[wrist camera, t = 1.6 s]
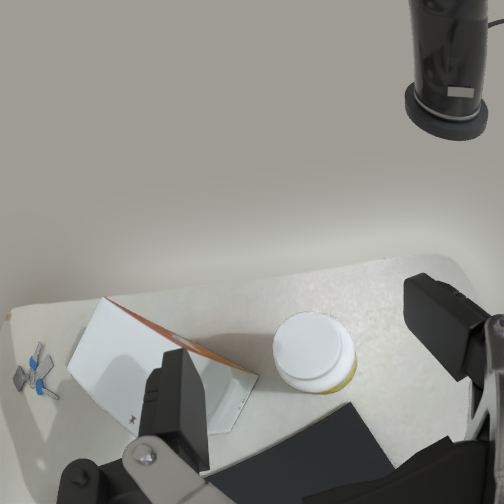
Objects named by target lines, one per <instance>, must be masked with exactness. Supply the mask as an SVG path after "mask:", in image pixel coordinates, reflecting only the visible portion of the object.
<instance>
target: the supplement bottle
mask: <svg viewBox="0 0 504 504" xmlns="http://www.w3.org/2000/svg"><path fill="white" fill-rule="evenodd" d="M272 349H273V356H274V360H275V365H276V368H277V370H278V372H279V374H280V376H281V377H282V378H283V380H284V381H285V382H286V383H288V384H289V385H290V386H292V387H293V388H295V389H297V390H300V391H303V392H308V393H315V394H331V393H334V392H337V391H339V390H341V389H342V388H344V387H345V386H346V385H347V384H348V383H349V382H350V381H351V379H352V377H353V375H354V373H355V371H356V367H357V356H356V350H355V344H354V340H353V338H352V335H351V333H350V331H349V330H348V328H347V327H346V326H345V325H344V324H343V323H342V322H341V321H340V320H338V319H337V318H335V317H333V316H331V315H328V314H324V313H316V312H301V313H297V314H295V315H292V316H291V317H289V318H287V319H286V320H285V321H284V322H283V323H282V324H281V325H280V326H279V328H278V329H277V331H276V333H275V336H274V339H273V345H272Z"/></svg>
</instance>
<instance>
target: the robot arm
mask: <svg viewBox="0 0 504 504" xmlns="http://www.w3.org/2000/svg"><path fill="white" fill-rule="evenodd" d="M408 2H409V10H410V19H411V29H412V40H413V56H414V79H415V80H414V84H415V86H414V99H415V102H416V104H417V105H418V106H419V108H420V109H421V110H423V111H424V112H425V113H427V114H428V115H430V116H432V117H434V118H436V119H439V120H441V121H445V122H449V123H467V122H471V121H473V120H474V119H476V118H477V117H478V115H479V112H480V106H481V103H480V102H481V98H482V91H483V84H484V76H485V66H486V56H487V34H488V28H490V27H492V26H495V25H498V24H502V23H504V19H501V20H497V21H494V22H491V23H488V0H408ZM403 314H404V320H405V323H406V325H407V327H408V329H409V330H410V331H411V332H412V333H413V334H414V335H415V336H416V337H417V338H418V339H419V340H420V342H421V343H422V344H423V345H424V346H425V347H426V348H427V349H428V350H429V351H430V352H431V353H432V355H433V356H434V357H435V358H436V359H437V360H438V361H439V362H440V363H441V364H442V366H443V367H444V368H445V369H446V370H447V371H448V372H449V373H450V375H451V376H452V377H453V378H454V379H455V380H456V381H457V382H458V381H460V380H462V379H463V378H465V377H467V376H469V378H470V379H471V380H470V384H469V407H468V423H467V431H466V435H465V438H464V441H459V442H454V443H453V442H452V441H451V439H450V438H449V436H446V437H444V438H443V439H441V440H439V441H437V442H436V443H434V444H432V445H430V446H428V447H426V448H425V449H423V450H421V451H419V452H417V453H416V454H414V455H413V456H412V457H411V458H409V459H408V460H407V461H406V462H404V463H403V464H402V465H401V466H399V467H398V468H397V469H395V470H394V471H393V472H392V473H390V474H389V475H387V476H386V477H384V478H381V479H376V480H371V481H365V482H359V483H353V484H346V485H340V486H337V487H334V488H331V489H328V490H325V491H322V492H319V493H316V494H312V495H309V496H306V497H302V501H303V504H504V314H498V315H494V316H491V315H489V314H488V313H487V312H486V311H484V310H483V309H482V308H481V307H479V306H478V305H477V304H475V303H474V302H473V301H471V300H470V299H469V298H466V296H465V295H463V294H462V293H459V291H458V290H457V289H455V288H454V287H453V286H451V285H450V284H447V283H444V282H441V281H435V280H434V279H432V278H431V277H430V276H428V275H427V274H425V273H420V274H418V275H415V276H412V277H410V278H407V279H405V281H404V311H403ZM143 402H144V403H143V404H142V411H141V418H140V425H139V432H138V438H137V439H135V440H134V441H132V442H131V443H130V444H129V445H128V446H127V447H126V449H125V450H124V452H123V456H122V458H120V459H118V460H116V461H113V462H110V463H107V464H104V465H101V466H97V465H96V464H95V463H94V462H93V461H91V460H89V459H77V460H75V461H73V462H71V463H70V464H69V465H67V467H66V468H65V469H64V471H63V473H62V476H61V480H60V486H59V491H58V497H57V503H56V504H236V503H235V502H234V501H232V500H231V499H230V498H229V497H227V496H226V495H225V494H224V493H222V492H221V491H220V490H219V489H218V488H216V487H215V486H214V485H213V484H211V483H210V482H209V481H206V480H204V479H203V478H202V477H201V476H200V475H199V472H201V471H207V470H210V466H209V452H208V437H207V420H206V401H205V390H204V386H203V383H202V380H201V378H200V375H199V373H198V371H197V369H196V367H195V365H194V363H193V361H192V359H191V357H190V355H189V353H188V351H187V349H186V348H185V347H183V348H179V349H175V350H170V351H166V352H164V353H163V359H162V366H161V368H156V369H153V371H152V372H151V374H150V375H149V377H148V379H147V380H146V386H145V394H144V398H143Z"/></svg>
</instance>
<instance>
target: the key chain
mask: <svg viewBox="0 0 504 504" xmlns="http://www.w3.org/2000/svg"><path fill="white" fill-rule="evenodd" d="M40 347H41V342H38V345H37V348H36V351H35V354H34V356H31V358H30V367H31V368H30V369H31V370H30V369H29V371H28V373H27V374H24V373H23V371H22V369H21V367H20V366H18V368H17V371H16V373H15V375H14V377H13V381H14V384H15V386H16V388H17V390H18V392H20V390H21V388H22V385H23V383H24V382H26V381H28V383H29V385H30V384H32V383H33V382H34V380H35V373H37V374H38V377H39V379H38V380H37V381H36V386H35V387H36V391H37V394H38V395H41V394H42V392H44V393H46V394H48V395H49V396H52V397H53V398H55V399H58V396H56V395H55V394H54V393H52V392H50V391H48V390H47V389H45V388H43V382H42V378H43V377H44V376H45V375H46V374H47V373H48V371H49V370H50V369H51V368H52V367H53V364H52V361H51V359H50V357H49V355H47V356H46V357H45V359H44V360H43V361H42V362H41V363H40V365H39V366H38V367H37V364H38V362H37V359H38V355H39V351H40ZM36 367H37V368H36ZM32 369H33V370H34V369H36V372H35V373H34V371H33V370H32ZM30 372H32V373H30ZM29 374H32V375H33V379H32V381H31V382H30V381H29ZM32 375H31V377H32ZM31 377H30V380H31ZM30 387H31V386H30ZM35 387H34V388H35ZM31 388H32V387H31ZM34 388H32V389H34Z"/></svg>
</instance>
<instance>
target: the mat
mask: <svg viewBox="0 0 504 504" xmlns="http://www.w3.org/2000/svg"><path fill="white" fill-rule="evenodd" d="M394 470H395V468H394V467H393V465H392V464H391V462H390V461H389V459H388V458H387V456H386V455H385V453H384V452H383V450H382V449H381V447H380V446H379V444H378V443H377V441H376V439H375V438H374V436H373V435H372V433H371V432H370V430H369V429H368V427H367V426H366V424H365V423H364V421H363V420H362V418H361V417H360V415H359V414H358V412H357V411H356V409H355V408H354V406H353V405H352V403H351V402H350V403H348V404H347V405H345V406H344V407H342V408H340V409H339V410H337V411H336V412H334V413H333V414H331V415H329V416H328V417H326V418H324V419H323V420H321V421H319V422H318V423H316V424H314V425H313V426H311V427H309V428H307V429H306V430H304V431H302V432H300V433H299V434H297V435H295V436H293V437H291V438H290V439H288V440H286V441H284V442H282V443H280V444H278V445H276V446H274V447H272V448H270V449H268V450H266V451H264V452H262V453H260V454H258V455H256V456H254V457H252V458H250V459H248V460H246V461H243V462H241V463H239V464H237V465H235V466H232V467H230V468H228V469H225V470H223V471H221V472H218V473H216V474H213V475H211V476H208V477H206V478H203V479H204V480H206V481H209V482H210V483H211V484H213V485H214V486H215V487H216V488H218V489H219V490H220V491H221V492H222V493H224V494H225V495H226V496H227V497H229V498H230V499H231V500H232V501H234V502H235V503H236V504H303V501H302V497H306V496H309V495H312V494H316V493H319V492H322V491H325V490H328V489H331V488H334V487H337V486H340V485H346V484H353V483H359V482H365V481H371V480H376V479H381V478H384V477H386V476H387V475H389V474H390V473H392V472H393V471H394Z"/></svg>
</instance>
